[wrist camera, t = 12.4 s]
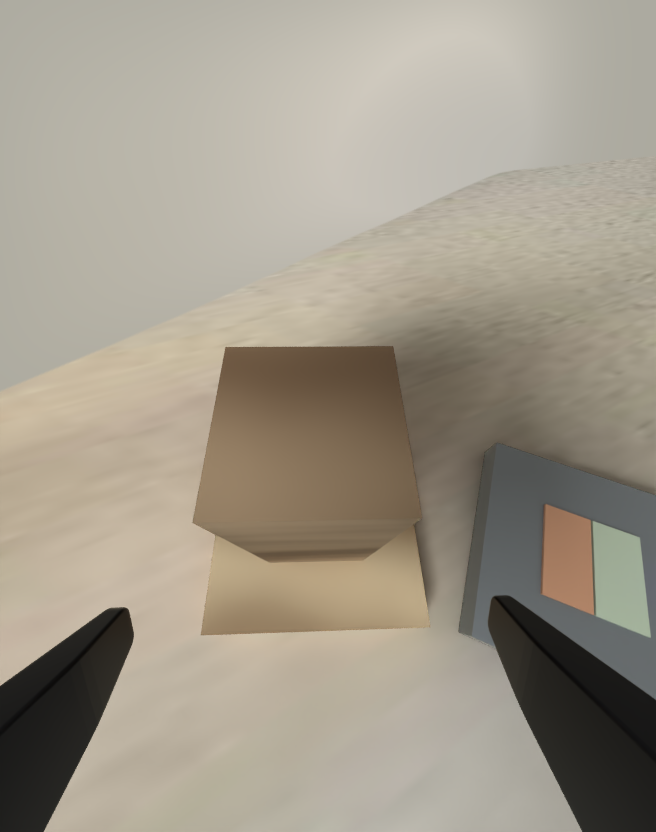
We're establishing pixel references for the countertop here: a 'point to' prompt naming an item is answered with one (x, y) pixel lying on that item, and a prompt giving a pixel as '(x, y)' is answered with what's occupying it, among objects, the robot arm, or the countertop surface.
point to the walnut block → (308, 454)
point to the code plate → (566, 558)
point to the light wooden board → (315, 592)
